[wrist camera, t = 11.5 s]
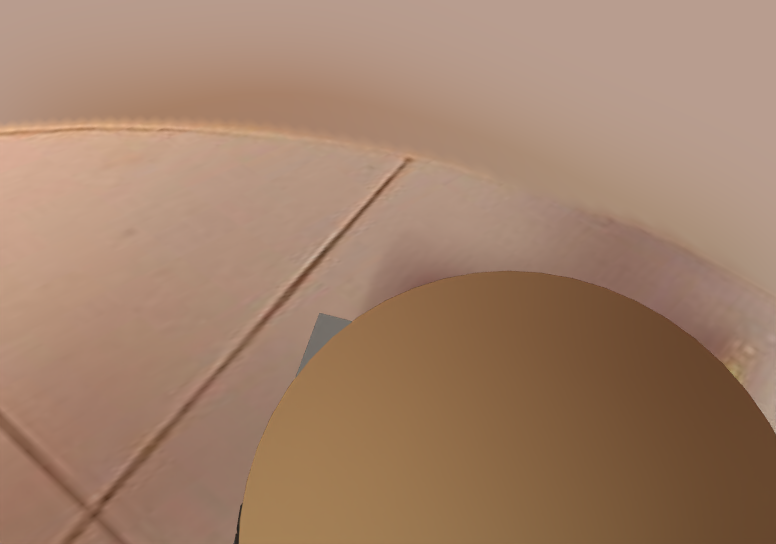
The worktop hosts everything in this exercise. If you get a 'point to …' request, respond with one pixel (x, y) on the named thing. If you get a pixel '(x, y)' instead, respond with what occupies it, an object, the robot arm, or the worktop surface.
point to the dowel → (513, 427)
